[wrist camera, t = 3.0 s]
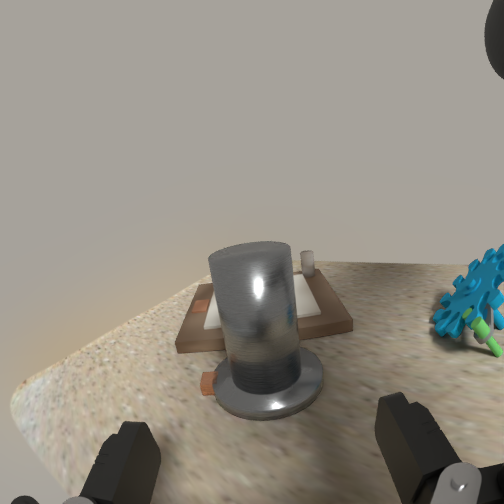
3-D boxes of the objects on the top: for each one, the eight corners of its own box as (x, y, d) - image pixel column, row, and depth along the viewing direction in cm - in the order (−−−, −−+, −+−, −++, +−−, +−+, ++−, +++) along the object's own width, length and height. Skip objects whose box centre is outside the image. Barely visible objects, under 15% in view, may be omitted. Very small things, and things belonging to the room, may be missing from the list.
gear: (435, 285, 28) (503, 224, 21) (467, 321, 27) (534, 267, 20) (416, 356, 21) (519, 283, 14) (455, 397, 19) (553, 338, 13)
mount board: (319, 277, 41) (316, 246, 40) (352, 330, 27) (352, 288, 26) (200, 292, 42) (194, 263, 40) (177, 353, 27) (166, 312, 26)
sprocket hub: (312, 347, 25) (303, 230, 23) (333, 410, 17) (330, 261, 15) (209, 359, 25) (185, 247, 23) (197, 425, 18) (154, 284, 15)
